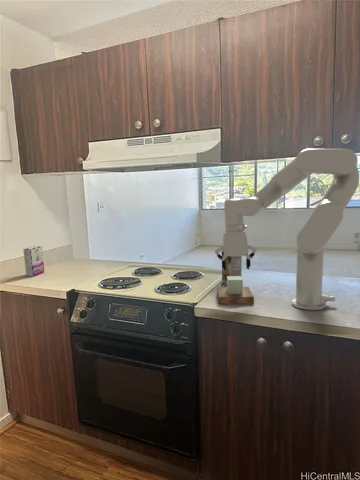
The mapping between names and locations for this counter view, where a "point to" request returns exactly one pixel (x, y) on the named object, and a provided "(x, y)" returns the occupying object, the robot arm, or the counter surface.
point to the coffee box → (231, 267)
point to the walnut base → (235, 296)
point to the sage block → (234, 285)
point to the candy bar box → (33, 261)
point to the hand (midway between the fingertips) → (236, 269)
